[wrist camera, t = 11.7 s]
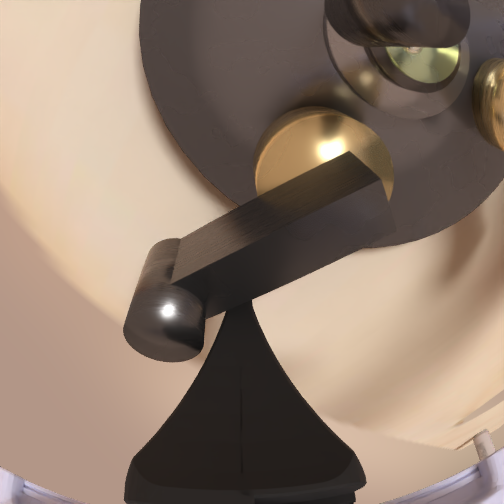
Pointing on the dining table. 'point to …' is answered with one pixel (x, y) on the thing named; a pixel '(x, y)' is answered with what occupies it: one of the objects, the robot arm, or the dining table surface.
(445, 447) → the dining table surface
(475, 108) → the knob
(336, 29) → the knob
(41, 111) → the dining table surface
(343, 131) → the knob
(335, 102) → the levelling plate
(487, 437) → the energy drink can
